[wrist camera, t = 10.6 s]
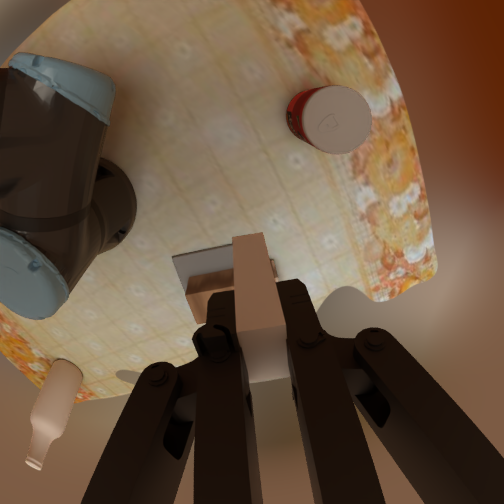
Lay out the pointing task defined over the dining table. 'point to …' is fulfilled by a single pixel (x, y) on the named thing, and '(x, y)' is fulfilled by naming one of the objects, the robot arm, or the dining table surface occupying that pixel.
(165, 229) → the dining table surface
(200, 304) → the walnut block
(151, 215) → the dining table surface
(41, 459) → the alcohol
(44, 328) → the dining table surface
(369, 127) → the canned food
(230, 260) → the mat
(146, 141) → the dining table surface
